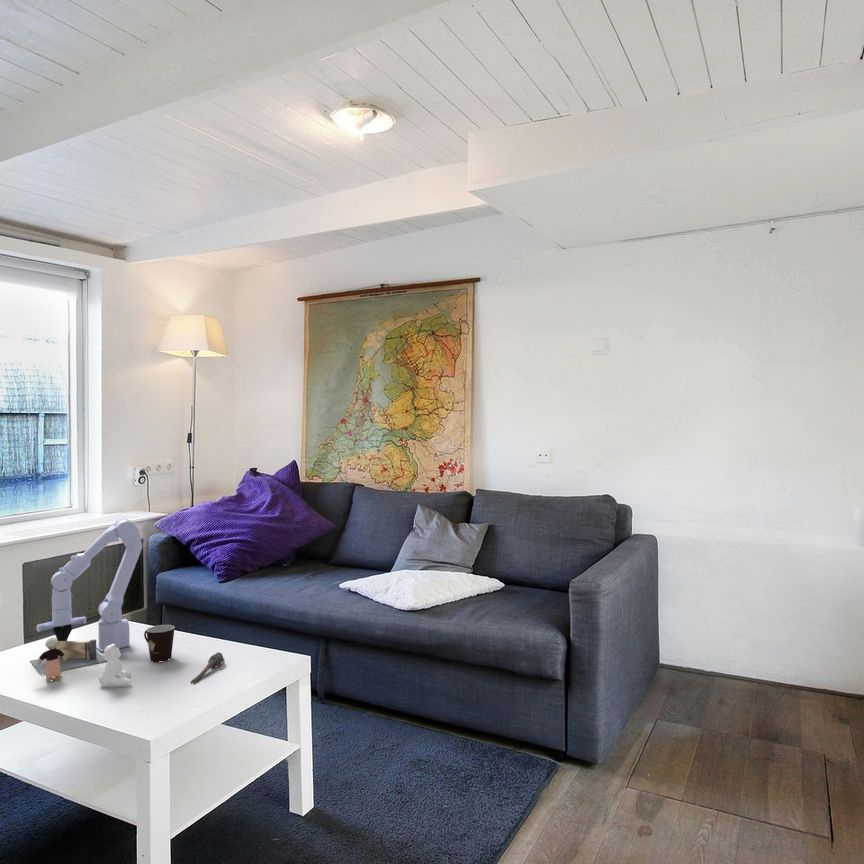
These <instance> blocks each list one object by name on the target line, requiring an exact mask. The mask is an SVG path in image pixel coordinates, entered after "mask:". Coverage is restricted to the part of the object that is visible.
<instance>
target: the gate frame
mask: <svg viewBox="0 0 864 864" xmlns="http://www.w3.org/2000/svg"><path fill="white" fill-rule="evenodd" d="M89 641H90V657H89V658H70V657H66V658H67V660H66V661H63V659H62V657H58V658H59V661H60V670H61V672H64V671H63V670H65V671H68V670H69V669H70V670H74V669H78V668H83V666H84V667H87V665H88V666H93V665H96V663H98V664H101V663H100V662H102V663H106V661H108V659H107V658H106V657H105V656H103V655H101V653H100V652H98V651H97V648H96V645H97V639H91V640H89ZM46 659H47V658H46ZM46 659H44V660H42V662H41V664H40V665H38V664H37V662H38V660H39V658H38V659H33V660H29V662H30V664H31V663H32V664H31V665H32V666H33V667H34V669H35V668H36V669H37V670H38V671H37V670H36V669H35V670H36V671H37V672H38V674H39V673H40V674H41V675H40V674H39V675H40V676H43V675H42V674H46ZM92 664H93V665H92Z"/></svg>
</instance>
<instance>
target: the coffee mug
mask: <svg viewBox="0 0 864 864" xmlns="http://www.w3.org/2000/svg"><path fill="white" fill-rule="evenodd" d="M174 635H175V626H174V625H171V624H160V625H153V626H151V627H148V628H147V629H146V630H145V631H144V634H143V637H144V640H145V641H146V643H147V646H148V653H149V659H150V660H151V661H153V662H152V663H160V662H159V661H165V660H168V659H170V658H171V659H172V654H173V647H174V646H173V644H174ZM171 659H170V660H171ZM150 660H149V661H150ZM151 661H150V662H151ZM168 661H169V660H168ZM165 662H166V661H165Z"/></svg>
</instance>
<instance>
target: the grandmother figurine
mask: <svg viewBox="0 0 864 864" xmlns="http://www.w3.org/2000/svg"><path fill="white" fill-rule="evenodd" d="M57 643H58V640H57V638H56V636H54V637H52V636H51V637H49V638H48V639H47V640H46V641H45V645H44V646H45V647H46V648H47V649H48V650H46V651H45V650H44V652H42V654H41V655H39V657H38V659H39V660H38V662H37V664H38V665H40V664H41V662H42V660H44V659H46V658H47V659H46V675H45V677H46V679H45V680H47V681H50V682H52V681H51V680H53V681H54V680H55V681H59V680H58V679H60V680H61V679H62V678H63V675H62V673H61V672H62V671H61V670H60V661H59V658H58V656H60V657H62V659H63V661H66V660H67V658H66V657H65V655H64V653H63V652H62V651H61V650H59V649H55V648H56V646H57V645H58V644H57ZM47 681H46V682H47Z"/></svg>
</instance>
